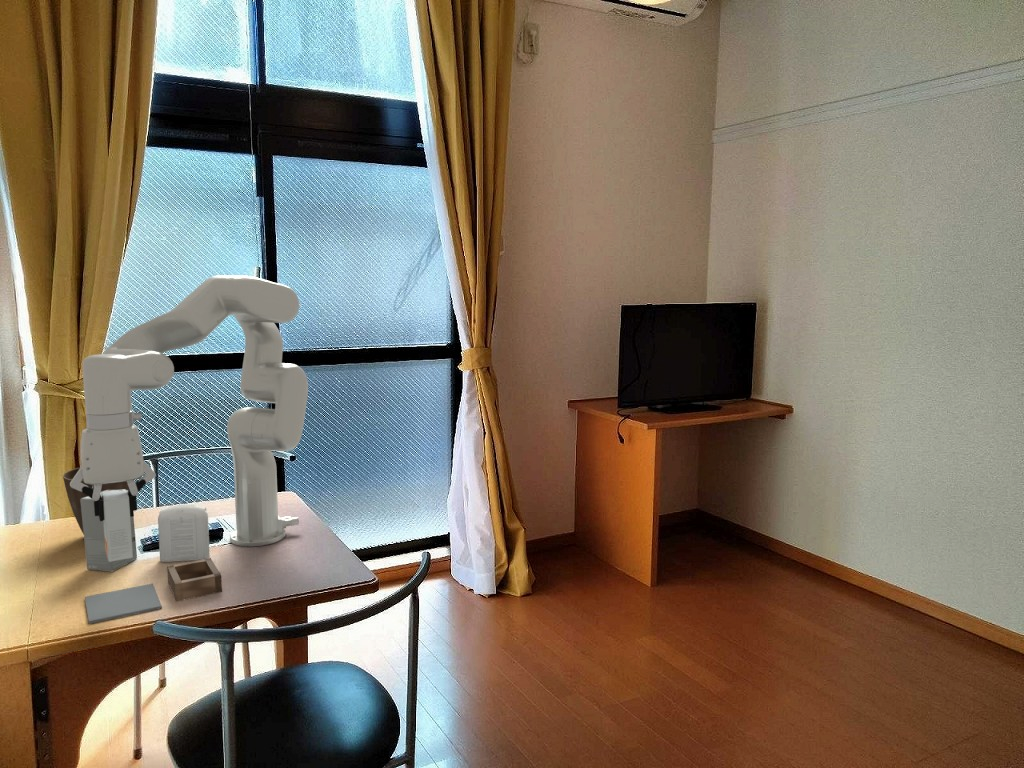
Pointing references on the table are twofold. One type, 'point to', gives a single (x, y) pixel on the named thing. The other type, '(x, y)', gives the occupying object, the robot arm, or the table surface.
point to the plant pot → (76, 495)
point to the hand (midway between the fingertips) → (116, 515)
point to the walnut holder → (194, 579)
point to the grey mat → (122, 603)
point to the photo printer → (183, 533)
